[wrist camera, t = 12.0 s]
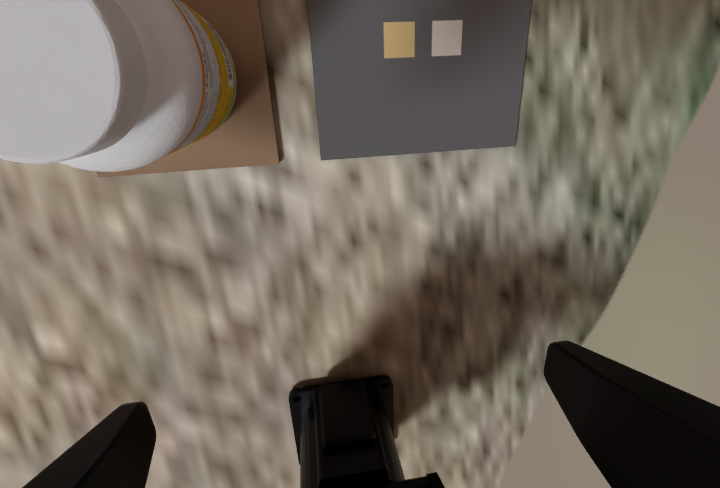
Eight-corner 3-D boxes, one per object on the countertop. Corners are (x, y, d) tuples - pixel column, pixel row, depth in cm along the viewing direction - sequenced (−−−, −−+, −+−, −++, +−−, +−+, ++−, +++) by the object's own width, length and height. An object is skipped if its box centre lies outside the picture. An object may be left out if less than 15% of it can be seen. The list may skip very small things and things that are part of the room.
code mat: (513, 145, 19) (515, 145, 19) (321, 159, 18) (321, 160, 18) (540, -101, 15) (543, -104, 15) (297, -104, 14) (298, -106, 14)
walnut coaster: (279, 162, 18) (279, 163, 18) (101, 175, 17) (98, 177, 17) (253, -40, 15) (252, -43, 14) (33, -38, 14) (28, -40, 14)
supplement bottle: (81, 98, 15) (-222, 107, 6) (128, -32, 14) (-173, -248, 5) (207, 164, 17) (105, 243, 8) (260, 54, 16) (207, 4, 7)
